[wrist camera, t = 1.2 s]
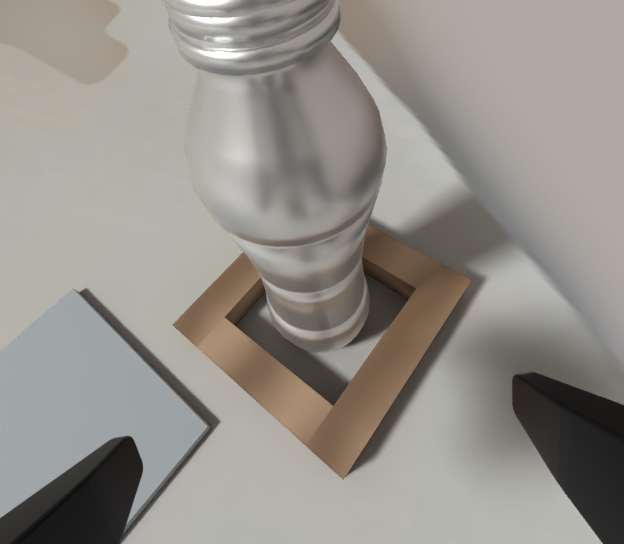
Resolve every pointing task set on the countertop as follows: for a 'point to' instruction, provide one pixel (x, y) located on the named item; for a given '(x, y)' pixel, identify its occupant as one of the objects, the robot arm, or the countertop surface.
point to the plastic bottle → (285, 154)
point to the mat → (85, 404)
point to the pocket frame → (370, 377)
